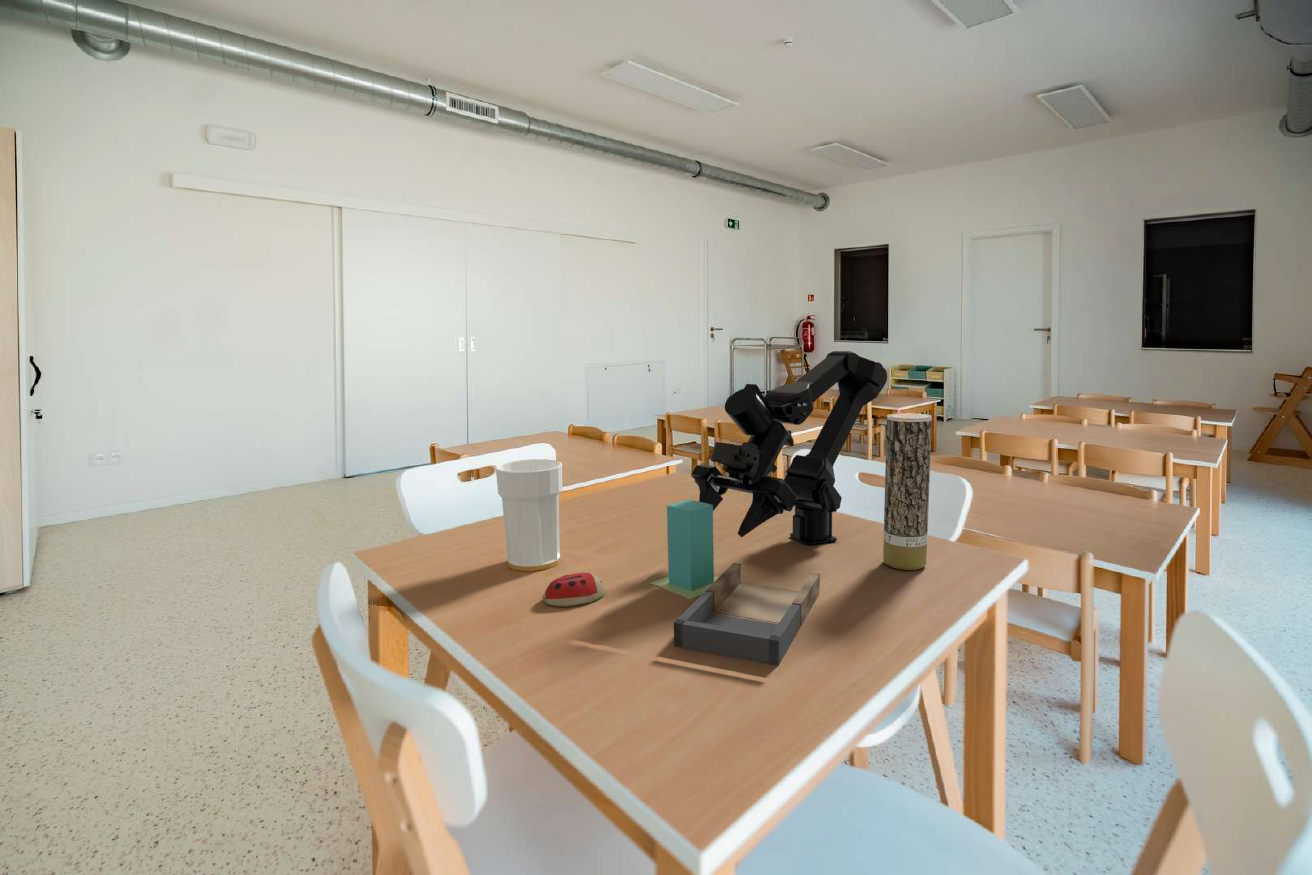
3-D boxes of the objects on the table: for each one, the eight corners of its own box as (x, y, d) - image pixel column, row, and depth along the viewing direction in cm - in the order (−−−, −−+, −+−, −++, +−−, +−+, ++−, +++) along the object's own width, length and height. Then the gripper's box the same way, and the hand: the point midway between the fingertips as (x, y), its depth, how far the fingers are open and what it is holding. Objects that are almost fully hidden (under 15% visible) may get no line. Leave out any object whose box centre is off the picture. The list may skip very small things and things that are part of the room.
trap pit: (705, 614, 95) (705, 591, 95) (800, 630, 90) (800, 605, 89) (674, 648, 86) (673, 622, 85) (778, 668, 80) (778, 640, 79)
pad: (691, 571, 113) (691, 568, 113) (731, 585, 106) (731, 582, 106) (650, 585, 107) (650, 582, 107) (691, 601, 100) (691, 598, 100)
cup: (580, 560, 119) (575, 463, 117) (527, 578, 111) (521, 475, 108) (540, 547, 127) (535, 456, 124) (488, 563, 119) (482, 466, 116)
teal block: (691, 574, 110) (689, 499, 108) (713, 582, 106) (712, 504, 104) (668, 582, 106) (666, 505, 105) (691, 591, 103) (689, 511, 101)
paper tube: (927, 560, 115) (933, 413, 111) (924, 573, 109) (930, 419, 105) (885, 555, 118) (889, 412, 114) (880, 568, 112) (884, 418, 108)
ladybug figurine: (613, 599, 102) (612, 577, 102) (552, 614, 97) (551, 591, 97) (594, 586, 108) (593, 564, 108) (535, 599, 103) (534, 577, 103)
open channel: (733, 584, 107) (733, 562, 106) (819, 596, 101) (819, 573, 100) (706, 613, 96) (706, 590, 95) (800, 629, 90) (801, 604, 90)
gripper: (696, 418, 117) (651, 493, 112) (784, 428, 103) (737, 513, 98) (728, 455, 123) (687, 528, 118) (815, 469, 110) (772, 552, 104)
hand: (718, 529), depth 109 cm, fingers open, 9 cm apart
